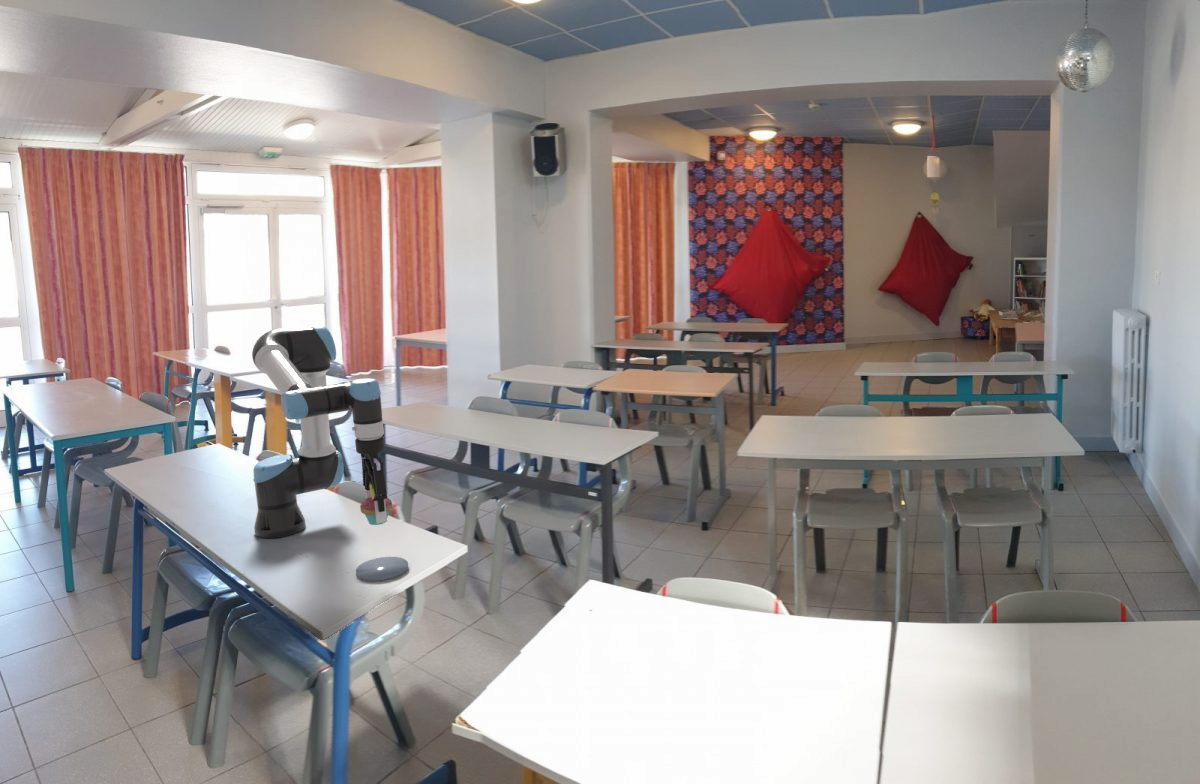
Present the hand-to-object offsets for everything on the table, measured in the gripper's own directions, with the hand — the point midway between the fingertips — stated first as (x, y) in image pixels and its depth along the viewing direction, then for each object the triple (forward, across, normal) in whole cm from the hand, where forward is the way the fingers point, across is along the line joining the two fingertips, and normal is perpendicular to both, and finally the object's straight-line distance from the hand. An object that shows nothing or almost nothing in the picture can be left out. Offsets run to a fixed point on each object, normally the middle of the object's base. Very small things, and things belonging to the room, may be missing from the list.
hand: (377, 517), depth 218 cm
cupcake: (+2, 0, 0) cm, 2 cm away
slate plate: (+16, 0, 0) cm, 16 cm away
